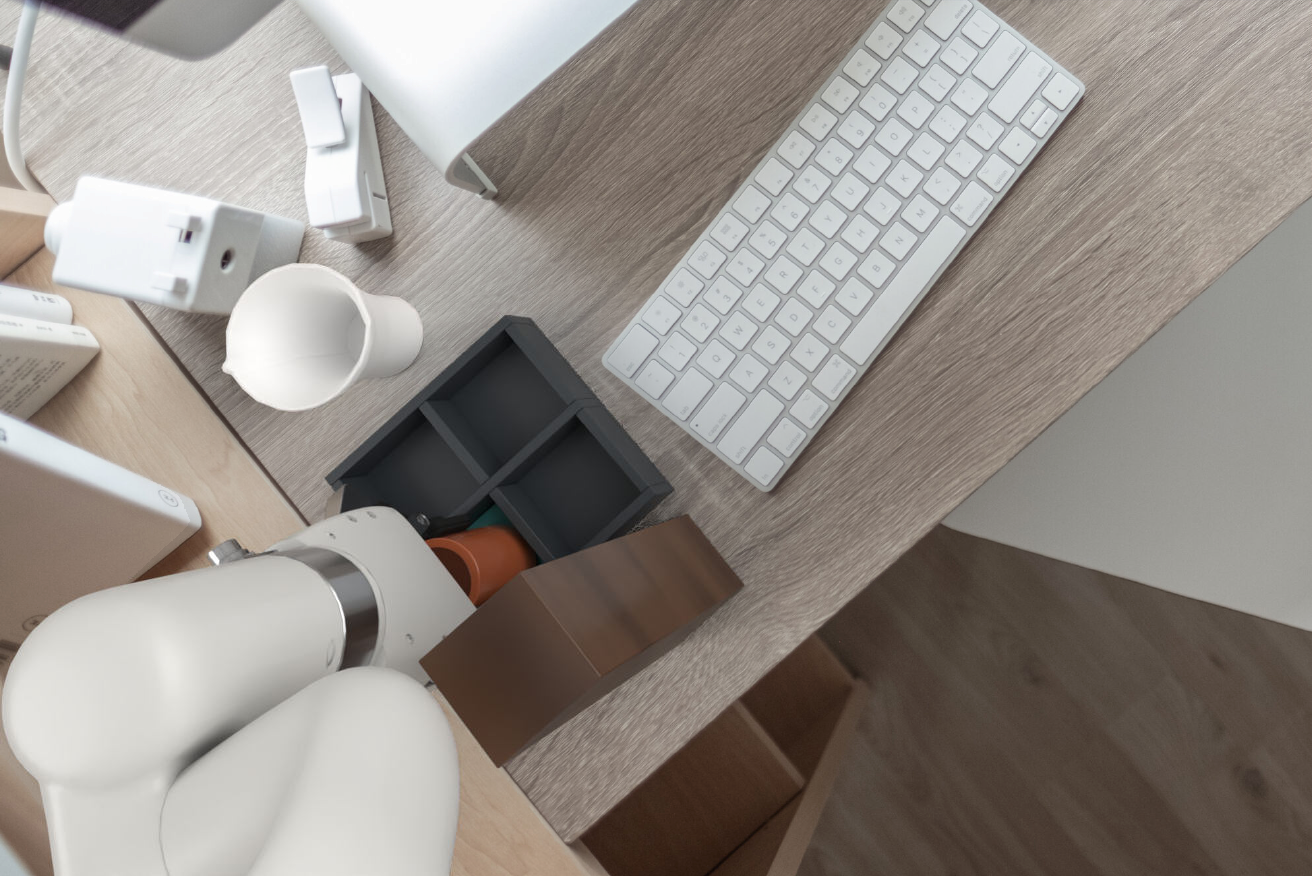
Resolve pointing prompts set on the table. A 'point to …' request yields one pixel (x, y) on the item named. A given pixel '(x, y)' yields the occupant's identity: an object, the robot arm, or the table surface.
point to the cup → (315, 337)
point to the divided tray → (511, 449)
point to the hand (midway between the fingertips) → (478, 571)
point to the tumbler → (484, 558)
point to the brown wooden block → (576, 632)
